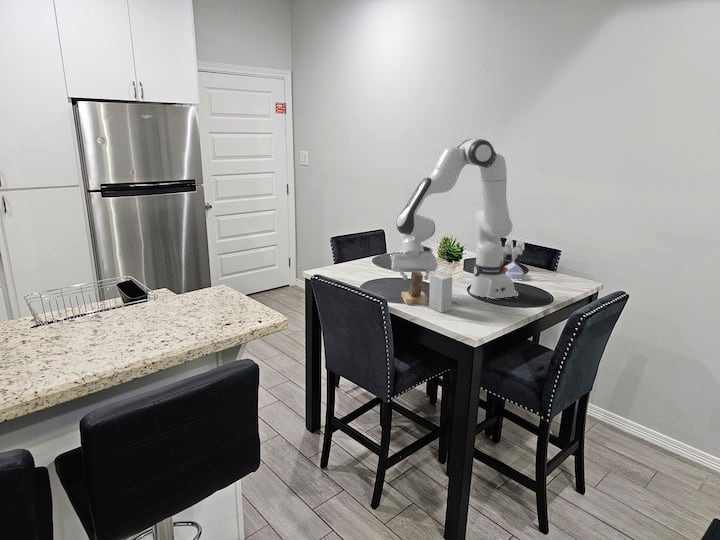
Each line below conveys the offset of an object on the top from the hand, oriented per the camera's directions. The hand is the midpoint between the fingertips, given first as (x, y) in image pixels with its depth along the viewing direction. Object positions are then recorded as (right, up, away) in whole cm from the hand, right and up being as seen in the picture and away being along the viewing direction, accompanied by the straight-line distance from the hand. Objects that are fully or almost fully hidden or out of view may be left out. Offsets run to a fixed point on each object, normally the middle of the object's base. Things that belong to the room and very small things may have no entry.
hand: (416, 279), depth 211 cm
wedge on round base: (+56, 0, +44) cm, 71 cm away
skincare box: (+9, -13, -6) cm, 17 cm away
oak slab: (0, -10, +3) cm, 11 cm away
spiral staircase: (+54, +7, +66) cm, 85 cm away
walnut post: (0, -7, +3) cm, 7 cm away
